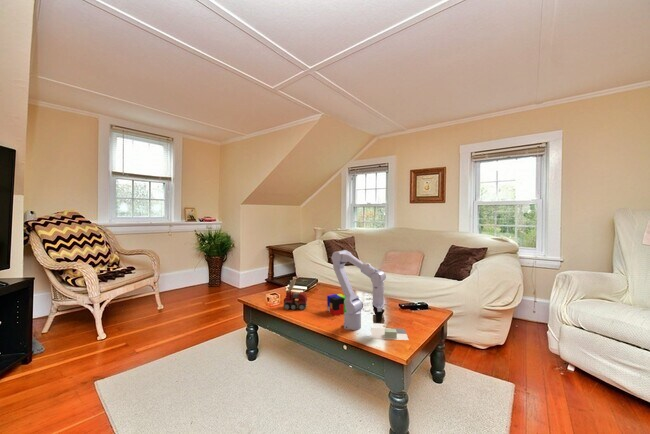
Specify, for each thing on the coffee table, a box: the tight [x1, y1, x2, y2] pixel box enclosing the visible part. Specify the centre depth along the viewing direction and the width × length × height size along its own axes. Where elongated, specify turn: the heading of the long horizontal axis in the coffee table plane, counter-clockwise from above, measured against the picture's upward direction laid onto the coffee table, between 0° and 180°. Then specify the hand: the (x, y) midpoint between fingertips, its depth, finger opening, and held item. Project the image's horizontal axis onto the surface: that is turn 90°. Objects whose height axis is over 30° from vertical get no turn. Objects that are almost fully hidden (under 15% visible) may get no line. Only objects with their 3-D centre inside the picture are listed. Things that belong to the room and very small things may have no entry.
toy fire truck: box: [283, 279, 308, 311], centre depth 187 cm, size 11×16×18 cm
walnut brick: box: [372, 314, 385, 325], centre depth 142 cm, size 6×4×3 cm
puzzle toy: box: [326, 293, 346, 316], centre depth 177 cm, size 10×10×10 cm
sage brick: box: [385, 328, 397, 338], centre depth 140 cm, size 6×4×3 cm
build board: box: [370, 327, 410, 341], centre depth 143 cm, size 18×13×1 cm
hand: (378, 320), depth 142 cm, fingers closed on walnut brick, 4 cm apart
